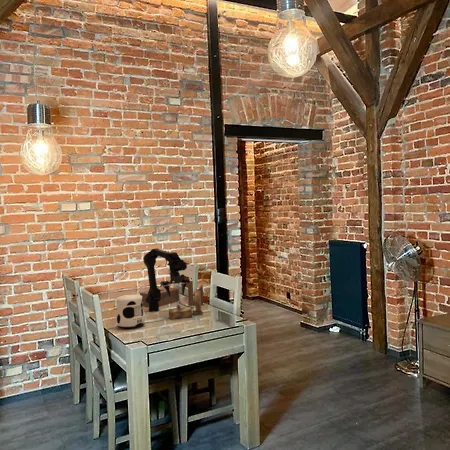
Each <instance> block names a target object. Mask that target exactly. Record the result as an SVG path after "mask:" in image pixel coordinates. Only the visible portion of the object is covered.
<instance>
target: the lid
mask: <svg viewBox="0 0 450 450" xmlns="http://www.w3.org/2000/svg"><path fill="white" fill-rule="evenodd" d="M192 309H195V306H188V307H187V306H186V307H181V305H180V304H177V305H176V308H168V312H169V311H170V313H173V312H183V311H192V312H193V310H192Z"/></svg>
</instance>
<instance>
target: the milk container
mask: <svg viewBox="0 0 450 450" xmlns="http://www.w3.org/2000/svg"><path fill="white" fill-rule="evenodd" d="M116 307H117V308H116V310H117V311H116V317H115V319H116V320H115V321H116V324H117V326H118V327H119V328H122V329H133V328H138V327H141V326H142V325H144V324H145V321H146V314H145V312H144V306H143V298H142V296H141V295H140V294H125V295H121V296H118V297H117V298H116Z"/></svg>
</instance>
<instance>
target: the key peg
mask: <svg viewBox="0 0 450 450" xmlns="http://www.w3.org/2000/svg"><path fill="white" fill-rule="evenodd" d="M194 293H195V296H194V300H195V303H196V306H195V310H202V305H201V297H200V291H197V290H194Z"/></svg>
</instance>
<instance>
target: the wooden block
mask: <svg viewBox="0 0 450 450" xmlns="http://www.w3.org/2000/svg"><path fill="white" fill-rule="evenodd" d="M193 285H194V282H193V280H190V283H188V284H187V294H188V296H187V297H188V300H187V305H188V307H193V306H194V307H196V303H195V299H194V297H195V292H194V286H193ZM203 286H204V285H203V284H201V285H200V286H199V287H198V289H196V291H200V297H201V306H204V287H203Z"/></svg>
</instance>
